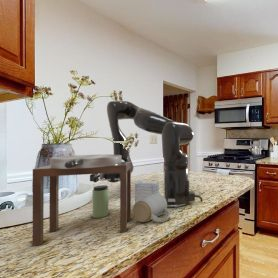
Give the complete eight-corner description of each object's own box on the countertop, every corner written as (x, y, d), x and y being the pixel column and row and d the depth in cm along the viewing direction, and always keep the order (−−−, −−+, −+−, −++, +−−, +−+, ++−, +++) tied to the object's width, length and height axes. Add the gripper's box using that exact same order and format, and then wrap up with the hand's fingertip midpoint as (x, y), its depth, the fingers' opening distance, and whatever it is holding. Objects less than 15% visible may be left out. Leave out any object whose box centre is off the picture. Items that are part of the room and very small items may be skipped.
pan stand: (131, 216, 71) (132, 153, 71) (120, 248, 50) (120, 159, 50) (56, 225, 63) (56, 155, 63) (4, 269, 42) (5, 163, 42)
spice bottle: (109, 212, 74) (109, 184, 74) (106, 216, 70) (106, 187, 70) (94, 214, 72) (94, 185, 72) (90, 218, 68) (91, 188, 68)
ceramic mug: (130, 222, 65) (130, 198, 65) (149, 213, 73) (149, 191, 73) (159, 226, 62) (159, 201, 62) (175, 216, 70) (175, 194, 70)
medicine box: (159, 202, 86) (159, 181, 86) (153, 205, 81) (153, 184, 81) (141, 201, 87) (141, 181, 87) (134, 205, 82) (134, 183, 82)
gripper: (97, 165, 93) (85, 170, 78) (133, 164, 99) (128, 168, 84) (97, 181, 93) (85, 190, 78) (133, 179, 99) (128, 186, 84)
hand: (108, 178), depth 81 cm, fingers open, 8 cm apart
